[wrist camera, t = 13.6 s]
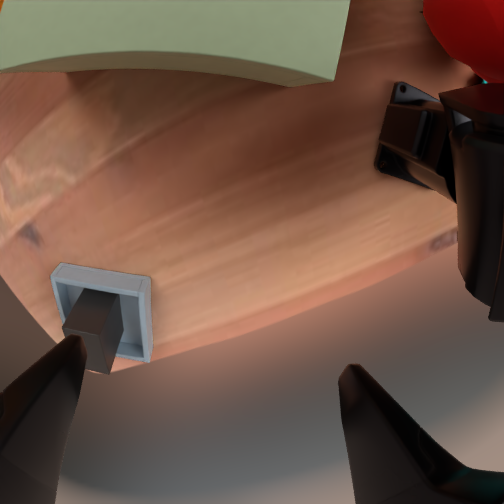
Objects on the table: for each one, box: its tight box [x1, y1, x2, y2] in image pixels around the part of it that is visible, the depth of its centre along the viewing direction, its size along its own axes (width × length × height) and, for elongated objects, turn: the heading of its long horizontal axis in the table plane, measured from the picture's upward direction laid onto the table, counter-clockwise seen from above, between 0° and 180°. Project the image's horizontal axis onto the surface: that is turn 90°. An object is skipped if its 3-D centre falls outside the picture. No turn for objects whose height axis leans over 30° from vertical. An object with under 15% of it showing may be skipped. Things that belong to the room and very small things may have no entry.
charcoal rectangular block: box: [62, 288, 124, 374], centre depth 19 cm, size 3×4×5 cm, turn 169°
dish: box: [50, 262, 153, 363], centre depth 21 cm, size 8×8×2 cm
